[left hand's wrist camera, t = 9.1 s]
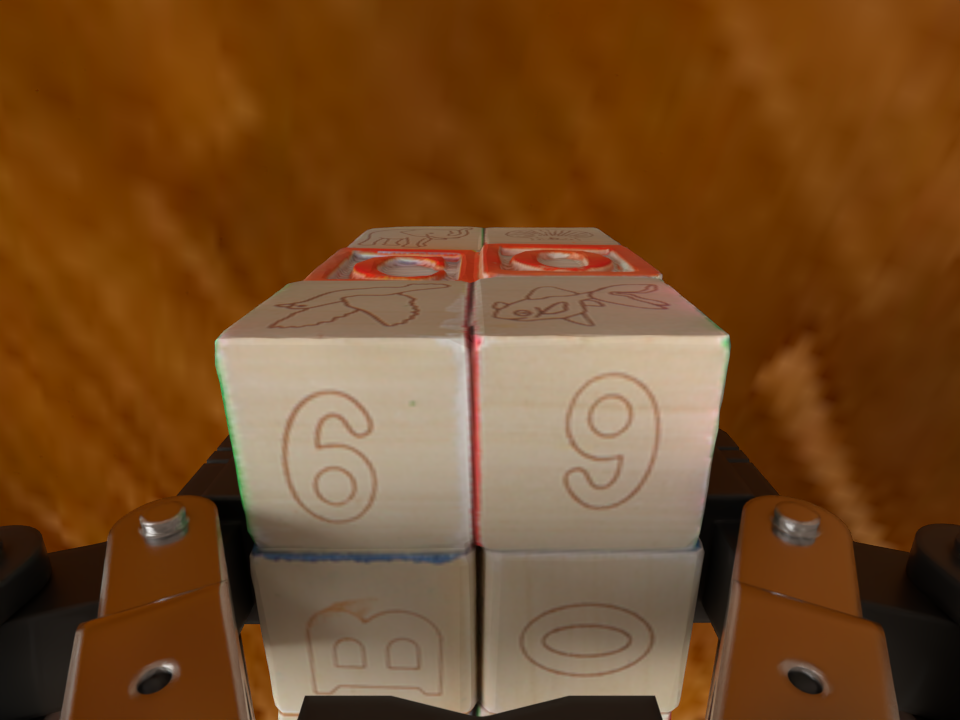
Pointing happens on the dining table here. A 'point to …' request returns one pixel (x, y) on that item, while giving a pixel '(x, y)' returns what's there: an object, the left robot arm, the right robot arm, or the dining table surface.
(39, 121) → the dining table surface
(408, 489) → the stack of blocks
